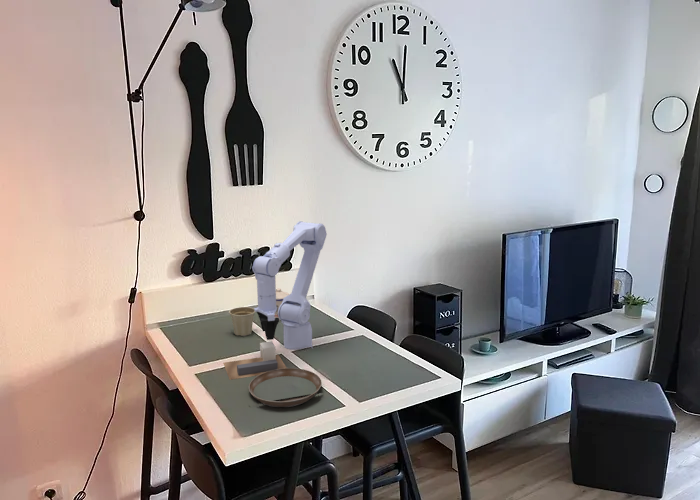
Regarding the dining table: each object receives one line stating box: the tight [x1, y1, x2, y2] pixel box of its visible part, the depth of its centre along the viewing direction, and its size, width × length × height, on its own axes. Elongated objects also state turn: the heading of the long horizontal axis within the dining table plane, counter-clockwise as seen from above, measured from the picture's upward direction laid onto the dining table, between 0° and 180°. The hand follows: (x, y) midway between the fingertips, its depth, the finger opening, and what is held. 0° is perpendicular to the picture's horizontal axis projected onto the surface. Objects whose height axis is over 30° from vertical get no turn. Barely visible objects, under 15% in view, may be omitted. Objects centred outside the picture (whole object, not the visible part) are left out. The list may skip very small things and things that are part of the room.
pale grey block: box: [259, 340, 277, 361], centre depth 180 cm, size 4×5×5 cm
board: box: [222, 354, 288, 381], centre depth 175 cm, size 18×13×1 cm
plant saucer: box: [248, 367, 322, 408], centre depth 160 cm, size 21×21×3 cm
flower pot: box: [228, 306, 256, 337], centre depth 205 cm, size 9×9×9 cm
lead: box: [237, 359, 278, 376], centre depth 171 cm, size 12×3×2 cm, turn 111°
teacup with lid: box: [275, 287, 296, 321], centre depth 222 cm, size 12×9×12 cm
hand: (268, 335), depth 178 cm, fingers open, 7 cm apart
